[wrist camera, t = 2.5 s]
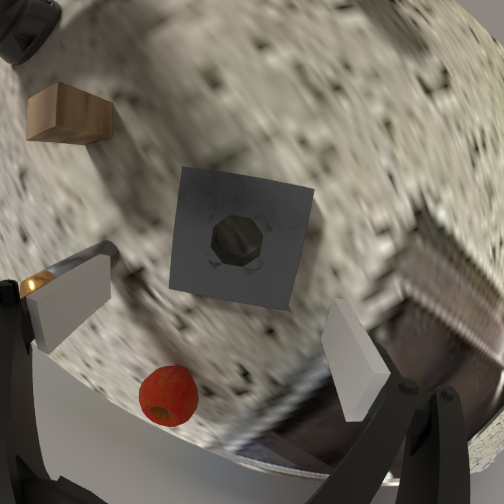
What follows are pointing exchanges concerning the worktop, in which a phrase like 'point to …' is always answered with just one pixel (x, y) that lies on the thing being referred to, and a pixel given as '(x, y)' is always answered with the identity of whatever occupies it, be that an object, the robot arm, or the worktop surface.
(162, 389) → the apple
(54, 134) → the square bit
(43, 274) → the round bit
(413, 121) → the worktop surface
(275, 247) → the holder plate
